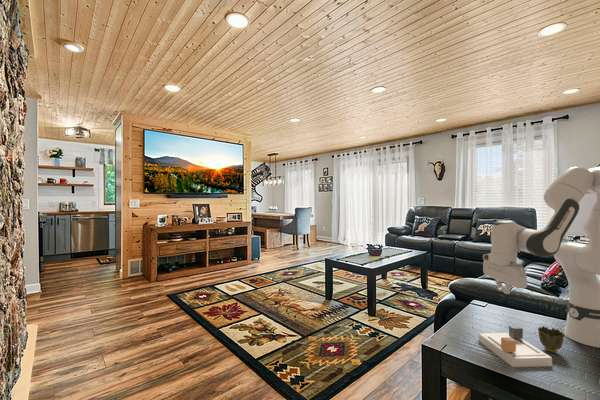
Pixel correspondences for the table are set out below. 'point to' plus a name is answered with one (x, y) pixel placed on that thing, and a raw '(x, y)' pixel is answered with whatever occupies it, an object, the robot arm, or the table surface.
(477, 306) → the table surface
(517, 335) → the fader
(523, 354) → the mixer console
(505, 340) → the fader
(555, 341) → the cup
